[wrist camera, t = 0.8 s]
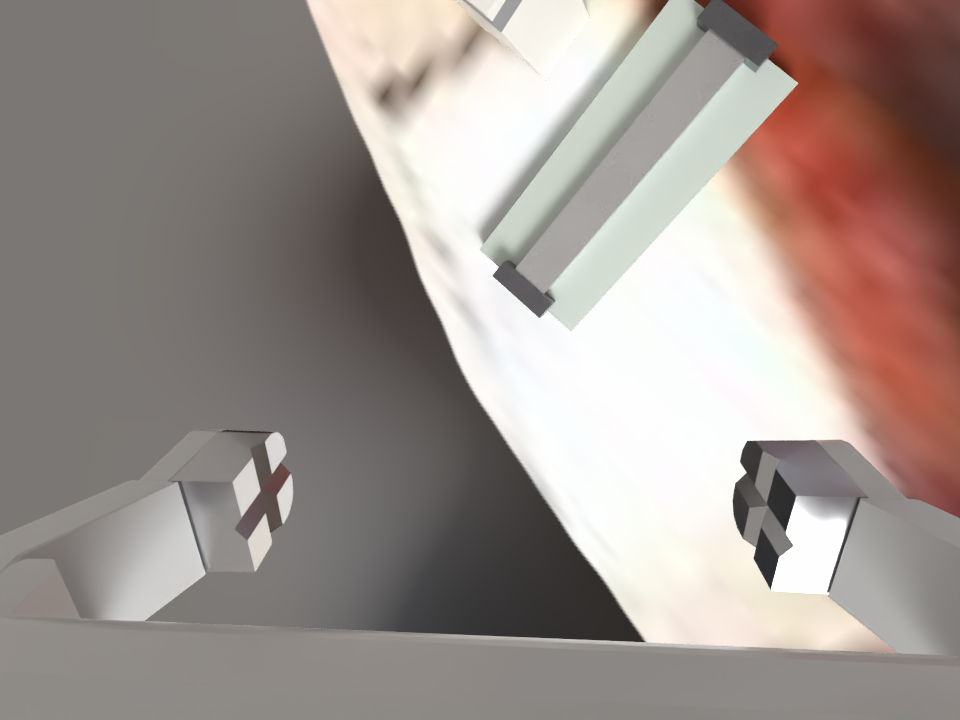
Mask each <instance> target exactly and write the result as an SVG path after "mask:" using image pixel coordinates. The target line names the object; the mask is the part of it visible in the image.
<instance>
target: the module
mask: <svg viewBox="0 0 960 720" xmlns="http://www.w3.org/2000/svg"><path fill="white" fill-rule="evenodd" d="M455 1H456V2H457V3H458V4H459V5H460V6H461V7H462V8H463V9H464V10H465V11H466V12H467V13H468V14H469V15H470V16H471V17H472V18H473V19H474V20H475V21H476V22H477V24H479V25H480V26H481V27H482V28H483V29H485V30H486V31H487V32H490V33H491V34H492V35H493V36H494V37H495V38H497V39H498V40H499V41H500V42H501V43H503V44H504V45H505V46H506V47H507V48H509V49H510V50H511V51H512V52H513V53H514V54H516V55H517V56H518V57H519V58H520V59H522V60H523V61H524V62H525V63H526V64H528V65H529V66H530V67H531V68H532V69H533V70H534V71H535V72H536V73H537V74H538V75H539V76H540V77H542V78H543V79H544V80H545V81H546V79H547V78H548V76H549V75H550V74H551V72H552V71H553V69H554V68H555V67H556V65H557V64H558V62H559V61H560V59H561V58H562V57H563V55H564V54H565V52H566V51H567V50H568V48H569V47H570V45H571V44H572V43H573V41H574V40H575V38H576V37H577V36H578V34H579V33H580V31H581V30H582V29H583V27H584V26H585V24H586V23H587V22H588V20H589V19H590V17H589V15H588V12H587V10H586V7H585V5H584V2H583V0H455Z"/></svg>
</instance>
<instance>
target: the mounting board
mask: <svg viewBox="0 0 960 720" xmlns="http://www.w3.org/2000/svg"><path fill="white" fill-rule="evenodd" d="M703 10H704V8H703V7H702V6H701V5H699V4H698V3H697V2H695V1H694V0H669V1H668V3H667V4H666V5H665V7H664V8H663V9H662V11H661V12H660V13H659V14H658V16H657V17H656V18H655V20H654V21H653V22H652V24H651V25H650V26H649V28H648V29H647V30H646V32H645V33H644V34H643V35H642V37H641V38H640V39H639V41H638V42H637V43H636V45H635V46H634V47H633V49H632V50H631V51H630V53H629V54H628V55H627V56H626V58H625V59H624V60H623V62H622V63H621V64H620V66H619V67H618V68H617V70H616V71H615V72H614V74H613V75H612V76H611V77H610V79H609V80H608V81H607V83H606V84H605V85H604V87H603V88H602V89H601V91H600V92H599V93H598V95H597V96H596V97H595V98H594V100H593V101H592V102H591V104H590V105H589V106H588V108H587V109H586V110H585V112H584V113H583V114H582V116H581V117H580V118H579V119H578V121H577V122H576V123H575V125H574V126H573V127H572V129H571V130H570V131H569V133H568V134H567V135H566V137H565V138H564V139H563V141H562V142H561V143H560V144H559V146H558V147H557V148H556V150H555V151H554V152H553V154H552V155H551V156H550V158H549V159H548V160H547V162H546V163H545V164H544V165H543V167H542V168H541V169H540V171H539V172H538V173H537V175H536V176H535V177H534V179H533V180H532V181H531V183H530V184H529V185H528V186H527V188H526V189H525V190H524V192H523V193H522V194H521V196H520V197H519V198H518V200H517V201H516V202H515V204H514V205H513V206H512V207H511V209H510V210H509V211H508V213H507V214H506V215H505V217H504V218H503V219H502V221H501V222H500V223H499V225H498V226H497V227H496V228H495V230H494V231H493V232H492V234H491V235H490V236H489V238H488V239H487V240H486V242H485V243H484V244H483V246H482V247H481V248H480V250H481V251H482V252H483V253H484V254H485V255H486V256H487V257H489V258H490V259H491V260H492V261H493V262H494V263H495V264H496V265H498V266H499V267H500V266H501V265H502V263H503V262H504V261H507V260H510V261H511V262H512V263H514V264H515V265H516V266H518V265H519V263H520V262H521V261H522V260H523V258H524V257H525V256H526V255H527V254H528V252H529V251H530V250H531V249H532V247H533V246H534V245H535V244H536V242H537V241H538V240H539V239H540V237H541V236H542V235H543V234H544V233H545V231H546V230H547V229H548V228H549V226H550V225H551V224H552V223H553V221H554V220H555V219H556V218H557V216H558V215H559V214H560V213H561V212H562V210H563V209H564V208H565V207H566V205H567V204H568V203H569V202H570V200H571V199H572V198H573V197H574V195H575V194H576V193H577V192H578V191H579V189H580V188H581V187H582V186H583V184H584V183H585V182H586V181H587V179H588V178H589V177H590V176H591V174H592V173H593V172H594V171H595V170H596V168H597V167H598V166H599V165H600V163H601V162H602V161H603V160H604V158H605V157H606V156H607V155H608V153H609V152H610V151H611V150H612V149H613V147H614V146H615V145H616V144H617V142H618V141H619V140H620V139H621V137H622V136H623V135H624V134H625V132H626V131H627V130H628V129H629V128H630V126H631V125H632V124H633V123H634V121H635V120H636V119H637V118H638V116H639V115H640V114H641V113H642V111H643V110H644V109H645V108H646V107H647V105H648V104H649V103H650V102H651V100H652V99H653V98H654V97H655V95H656V94H657V93H658V92H659V90H660V89H661V88H662V87H663V86H664V84H665V83H666V82H667V81H668V79H669V78H670V77H671V76H672V74H673V73H674V72H675V71H676V69H677V68H678V67H679V66H680V65H681V63H682V62H683V61H684V60H685V58H686V57H687V56H688V55H689V53H690V52H691V51H692V50H693V48H694V47H695V46H696V45H697V44H698V42H699V41H700V40H701V39H702V37H703V36H704V35H705V34H706V33H705V32H703V31H702V30H701V29H700V28H698V27H697V26H696V25H697V18H698V16H699V15H700V14H701V13H702V11H703ZM797 84H798V83H797V82H796V81H795V80H794V79H792V78H791V77H790V76H789V75H787V74H786V73H785V72H784V71H782V70H781V69H780V68H779V67H777V66H776V65H775V64H773V63H772V62H771V61H770V60H768V59H767V60H766V62H765V63H764V64H763V65H762V66H761V67H760V68H759V70H758V71H757V72H756V73H755V72H753V71H752V70H751V69H750V68H748V67H747V66H746V65H745V64H743V65H742V66H741V67H740V68H739V69H738V71H737V72H736V73H735V74H734V75H733V76H732V78H731V79H730V80H729V81H728V82H727V83H726V84H725V86H724V87H723V88H722V89H721V90H720V91H719V93H718V94H717V95H716V96H715V97H714V98H713V100H712V101H711V102H710V103H709V104H708V105H707V107H706V108H705V109H704V110H703V111H702V112H701V114H700V115H699V116H698V117H697V118H696V119H695V121H694V122H693V123H692V124H691V125H690V126H689V128H688V129H687V130H686V131H685V132H684V133H683V135H682V136H681V137H680V138H679V139H678V140H677V142H676V143H675V144H674V145H673V146H672V147H671V149H670V150H669V151H668V152H667V153H666V154H665V156H664V157H663V158H662V159H661V160H660V161H659V163H658V164H657V165H656V166H655V167H654V168H653V169H652V171H651V172H650V173H649V174H648V175H647V176H646V178H645V179H644V180H643V181H642V182H641V183H640V185H639V186H638V187H637V188H636V189H635V190H634V192H633V193H632V194H631V195H630V196H629V197H628V199H627V200H626V201H625V202H624V203H623V204H622V206H621V207H620V208H619V209H618V210H617V211H616V213H615V214H614V215H613V216H612V217H611V218H610V220H609V221H608V222H607V223H606V224H605V225H604V227H603V228H602V229H601V230H600V231H599V232H598V234H597V235H596V236H595V237H594V238H593V239H592V241H591V242H590V243H589V244H588V245H587V246H586V247H585V249H584V250H583V251H582V252H581V253H580V254H579V256H578V257H577V258H576V259H575V260H574V261H573V263H572V264H571V265H570V266H569V267H568V268H567V270H566V271H565V272H564V273H563V274H562V275H561V277H560V278H559V279H558V280H557V281H556V282H555V284H554V285H553V286H552V287H551V288H550V289H549V291H548V292H547V294H548V295H549V296H551V297H552V298H553V299H554V300H555V301H556V302H555V303H554V304H553V305H552V306H551V307H550V308H549V310H548V311H549V312H550V313H551V314H552V315H553V316H554V317H556V318H557V319H558V320H559V321H560V322H561V323H562V324H563V325H565V326H566V327H567V328H568V329H569V330H570V331H572V330H573V329H574V328H575V327H576V325H577V324H578V323H579V322H580V321H581V320H582V319H583V318H584V317H585V316H586V315H587V313H588V312H589V311H590V310H591V309H592V308H593V307H594V306H595V305H596V304H597V303H598V301H599V300H600V299H601V298H602V297H603V296H604V295H605V294H606V293H607V292H608V291H609V289H610V288H611V287H612V286H613V285H614V284H615V283H616V282H617V281H618V280H619V279H620V277H621V276H622V275H623V274H624V273H625V272H626V271H627V270H628V269H629V268H630V267H631V265H632V264H633V263H634V262H635V261H636V260H637V259H638V258H639V257H640V256H641V255H642V253H643V252H644V251H645V250H646V249H647V248H648V247H649V246H650V245H651V244H652V243H653V241H654V240H655V239H656V238H657V237H658V236H659V235H660V234H661V233H662V232H663V231H664V229H665V228H666V227H667V226H668V225H669V224H670V223H671V222H672V221H673V220H674V219H675V217H676V216H677V215H678V214H679V213H680V212H681V211H682V210H683V209H684V208H685V207H686V205H687V204H688V203H689V202H690V201H691V200H692V199H693V198H694V197H695V196H696V195H697V193H698V192H699V191H700V190H701V189H702V188H703V187H704V186H705V185H706V184H707V183H708V181H709V180H710V179H711V178H712V177H713V176H714V175H715V174H716V173H717V172H718V171H719V169H720V168H721V167H722V166H723V165H724V164H725V163H726V162H727V161H728V160H729V159H730V157H731V156H732V155H733V154H734V153H735V152H736V151H737V150H738V149H739V148H740V147H741V145H742V144H743V143H744V142H745V141H746V140H747V139H748V138H749V137H750V136H751V135H752V133H753V132H754V131H755V130H756V129H757V128H758V127H759V126H760V125H761V124H762V123H763V121H764V120H765V119H766V118H767V117H768V116H769V115H770V114H771V113H772V112H773V111H774V109H775V108H776V107H777V106H778V105H779V104H780V103H781V102H782V101H783V100H784V99H785V97H786V96H787V95H788V94H789V93H790V92H791V91H792V90H793V89H794V88H795V86H796V85H797Z"/></svg>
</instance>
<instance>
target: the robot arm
mask: <svg viewBox="0 0 960 720" xmlns="http://www.w3.org/2000/svg"><path fill="white" fill-rule="evenodd" d="M286 453H287V452H286V448H285V443H284V439H283V437H282V436H281V435H280V434H279V433H278V432H270V431H269V432H268V431H243V430H221V429H212V430H211V429H204V430H203V429H200V430H194V431H191V432H190V433H189V434H188V435H187V436H186V437H185V438H183V439H182V440H181V441H180V442H179V443H178V444H177V445H176V446H175V447H174V448H173V449H172V450H171V451H170V452H169V453H167V455H165V456H164V457H163V458H162V459H161V460H160V461H159V462H158V463H157V464H156V465H155V466H154V467H153V468H152V469H150V470H149V471H148V472H147V473H146V474H145V475H144V476H143V477H142V478H141V479H140V480H139V481H128V482H125V483H123V484H121V485H118V486H116V487H114V488H111V489H109V490H107V491H104V492H102V493H99V494H97V495H95V496H92V497H90V498H88V499H86V500H83V501H81V502H79V503H76V504H74V505H71V506H69V507H67V508H64V509H62V510H60V511H57V512H55V513H53V514H50V515H48V516H46V517H43V518H41V519H38V520H36V521H34V522H31V523H29V524H27V525H25V526H22V527H20V528H18V529H15V530H13V531H10V532H8V533H6V534H3V535H1V536H0V720H960V518H958V517H956V516H954V515H951V514H949V513H947V512H945V511H942V510H940V509H938V508H936V507H934V506H931V505H929V504H927V503H925V502H922V501H920V500H911V499H907V498H906V497H905V496H904V495H903V494H902V493H901V492H900V491H899V490H897V489H896V488H895V487H894V486H893V485H892V484H891V483H890V482H889V481H888V480H887V479H886V478H885V477H884V476H883V475H882V474H881V473H880V472H879V471H878V470H877V469H876V468H875V467H874V466H873V465H872V464H871V463H870V462H868V461H867V460H866V459H865V458H864V457H863V456H862V455H861V454H860V453H859V452H858V451H857V450H856V449H855V448H854V447H853V446H852V445H851V444H850V443H848V442H845V441H843V440H807V441H747V443H746V444H745V446H744V448H743V451H742V455H741V459H740V463H741V464H742V466H743V467H744V469H745V471H746V472H747V473H746V474H745V475H744V476H743V477H742V478H741V479H740V480H739V481H738V482H736V483H735V489H734V495H733V512H734V518H735V522H736V525H737V528H738V530H739V532H740V534H741V536H742V538H743V539H744V540H746V541H747V542H749V543H750V544H752V545H753V546H755V547H756V550H755V555H754V560H755V562H756V564H757V566H758V568H759V569H760V571H761V573H762V575H763V577H764V579H765V580H766V582H767V584H768V586H769V588H770V590H771V591H786V592H803V593H819V594H829V595H828V597H829V598H830V599H832V600H833V601H834V602H835V603H837V604H838V605H839V606H840V607H842V608H843V609H844V610H845V611H847V612H848V613H849V614H850V615H852V616H853V617H854V618H855V619H857V620H858V621H859V622H860V623H862V624H863V625H864V626H865V627H867V628H868V629H869V630H870V631H872V632H873V633H874V634H875V635H876V636H878V637H879V638H880V639H881V640H883V641H884V642H885V643H886V644H888V645H889V646H890V647H891V648H893V649H894V650H895V651H896V652H898V653H875V652H852V651H829V650H806V649H783V648H760V647H737V646H714V645H691V644H668V643H645V642H620V641H597V640H575V639H573V640H572V639H549V638H525V637H500V636H476V635H453V634H452V635H450V634H429V633H428V634H427V633H405V632H404V633H403V632H382V631H359V630H337V629H313V628H290V627H266V626H244V625H220V624H196V623H173V622H151V621H145V620H146V619H147V618H148V617H150V616H151V615H152V614H154V613H155V612H156V611H158V610H159V609H160V608H161V607H163V606H164V605H166V604H167V603H168V602H170V601H171V600H172V599H174V598H175V597H176V596H177V595H179V594H180V593H181V592H183V591H184V590H185V589H187V588H188V587H189V586H191V585H192V584H193V583H195V582H196V581H197V580H199V579H200V578H201V577H203V576H204V575H205V572H256V570H257V568H258V566H259V565H260V563H261V561H262V560H263V558H264V556H265V554H266V553H267V551H268V550H269V548H270V546H271V544H272V540H271V535H270V533H271V532H273V531H274V530H276V529H277V528H279V527H280V526H282V525H283V524H284V522H285V520H286V518H287V516H288V515H289V512H290V508H291V504H292V500H293V482H292V477H291V473H290V472H289V471H288V470H287V469H286V468H285V467H284V466H283V465H282V464H281V461H282V460H283V458H284V456H285V455H286Z"/></svg>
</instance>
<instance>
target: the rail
mask: <svg viewBox="0 0 960 720" xmlns="http://www.w3.org/2000/svg"><path fill="white" fill-rule="evenodd" d="M696 26H697V27H698V28H700V29H701V30H702V31H703V32H705V33H706V34H705V35H704V36H703V37H702V39H701V40H700V41H699V42H698V44H697V45H696V46H695V47H694V48H693V50H692V51H691V52H690V53H689V55H688V56H687V57H686V58H685V60H684V61H683V62H682V63H681V65H680V66H679V67H678V68H677V69H676V71H675V72H674V73H673V74H672V76H671V77H670V78H669V79H668V81H667V82H666V83H665V84H664V86H663V87H662V88H661V89H660V90H659V92H658V93H657V94H656V95H655V97H654V98H653V99H652V100H651V102H650V103H649V104H648V105H647V107H646V108H645V109H644V110H643V111H642V113H641V114H640V115H639V116H638V118H637V119H636V120H635V121H634V123H633V124H632V125H631V126H630V128H629V129H628V130H627V131H626V132H625V134H624V135H623V136H622V137H621V139H620V140H619V141H618V142H617V144H616V145H615V146H614V147H613V149H612V150H611V151H610V152H609V153H608V155H607V156H606V157H605V158H604V160H603V161H602V162H601V163H600V165H599V166H598V167H597V168H596V170H595V171H594V172H593V173H592V174H591V176H590V177H589V178H588V179H587V181H586V182H585V183H584V184H583V186H582V187H581V188H580V189H579V191H578V192H577V193H576V194H575V195H574V197H573V198H572V199H571V200H570V202H569V203H568V204H567V205H566V207H565V208H564V209H563V210H562V212H561V213H560V214H559V215H558V216H557V218H556V219H555V220H554V221H553V223H552V224H551V225H550V226H549V228H548V229H547V230H546V231H545V233H544V234H543V235H542V236H541V237H540V239H539V240H538V241H537V242H536V244H535V245H534V246H533V247H532V249H531V250H530V251H529V252H528V254H527V255H526V256H525V257H524V258H523V260H522V261H521V262H520V263H519V265H518V266H516V265H515V264H514V263H512V262H511V261H510V260H507V261H504V262H503V263H502V265H501V266H500V267H499V268H498V270H497V271H496V272H495V273H494V275H493V277H494V278H496V279H497V280H498V281H499V282H500V283H501V284H502V285H503V286H504V287H506V288H507V289H508V290H509V291H510V292H511V293H512V294H513V295H514V296H516V297H517V298H518V299H519V300H520V301H521V302H522V303H523V304H524V305H526V306H527V307H528V308H529V309H530V310H531V311H532V312H533V313H535V314H536V315H537V316H538V317H539V318H540V317H542V316H543V315H544V314H545V313H546V312H547V311H548V310H549V308H550V307H551V306H552V305H553V304H554V303H555V302H556V301H555V300H554V299H553V298H552V297H551V296H549V295H548V294H547V292H548V291H549V289H550V288H551V287H552V286H553V285H554V284H555V282H556V281H557V280H558V279H559V278H560V277H561V275H562V274H563V273H564V272H565V271H566V270H567V268H568V267H569V266H570V265H571V264H572V263H573V261H574V260H575V259H576V258H577V257H578V256H579V254H580V253H581V252H582V251H583V250H584V249H585V247H586V246H587V245H588V244H589V243H590V242H591V241H592V239H593V238H594V237H595V236H596V235H597V234H598V232H599V231H600V230H601V229H602V228H603V227H604V225H605V224H606V223H607V222H608V221H609V220H610V218H611V217H612V216H613V215H614V214H615V213H616V211H617V210H618V209H619V208H620V207H621V206H622V204H623V203H624V202H625V201H626V200H627V199H628V197H629V196H630V195H631V194H632V193H633V192H634V190H635V189H636V188H637V187H638V186H639V185H640V183H641V182H642V181H643V180H644V179H645V178H646V176H647V175H648V174H649V173H650V172H651V171H652V169H653V168H654V167H655V166H656V165H657V164H658V163H659V161H660V160H661V159H662V158H663V157H664V156H665V154H666V153H667V152H668V151H669V150H670V149H671V147H672V146H673V145H674V144H675V143H676V142H677V140H678V139H679V138H680V137H681V136H682V135H683V133H684V132H685V131H686V130H687V129H688V128H689V126H690V125H691V124H692V123H693V122H694V121H695V119H696V118H697V117H698V116H699V115H700V114H701V112H702V111H703V110H704V109H705V108H706V107H707V105H708V104H709V103H710V102H711V101H712V100H713V98H714V97H715V96H716V95H717V94H718V93H719V91H720V90H721V89H722V88H723V87H724V86H725V84H726V83H727V82H728V81H729V80H730V79H731V78H732V76H733V75H734V74H735V73H736V72H737V71H738V69H739V68H740V67H741V66H742V65H743V64H745V65H746V66H747V67H748V68H750V69H751V70H752V71H753V72H755V73H756V72H757V71H758V70H759V68H760V67H761V66H762V65H763V64H764V63H765V62H766V60H767V59H768V58H769V57H770V56H771V55H772V54H773V52H774V51H775V49H776V48H777V46H778V44H777V43H775V42H774V41H773V40H772V39H770V38H769V37H768V36H767V35H765V34H764V33H763V32H762V31H760V30H759V29H758V28H756V27H755V26H754V25H753V24H751V23H750V22H749V21H748V20H746V19H745V18H744V17H743V16H741V15H740V14H739V13H737V12H736V11H735V10H734V9H732V8H731V7H730V6H729V5H727V4H726V3H725V2H724V1H722V0H711V1H710V2H709V4H708V5H707V6H706V8H705V9H704V10H703V11H702V13H701V14H700V15H699V16H698V18H697V25H696Z"/></svg>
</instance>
